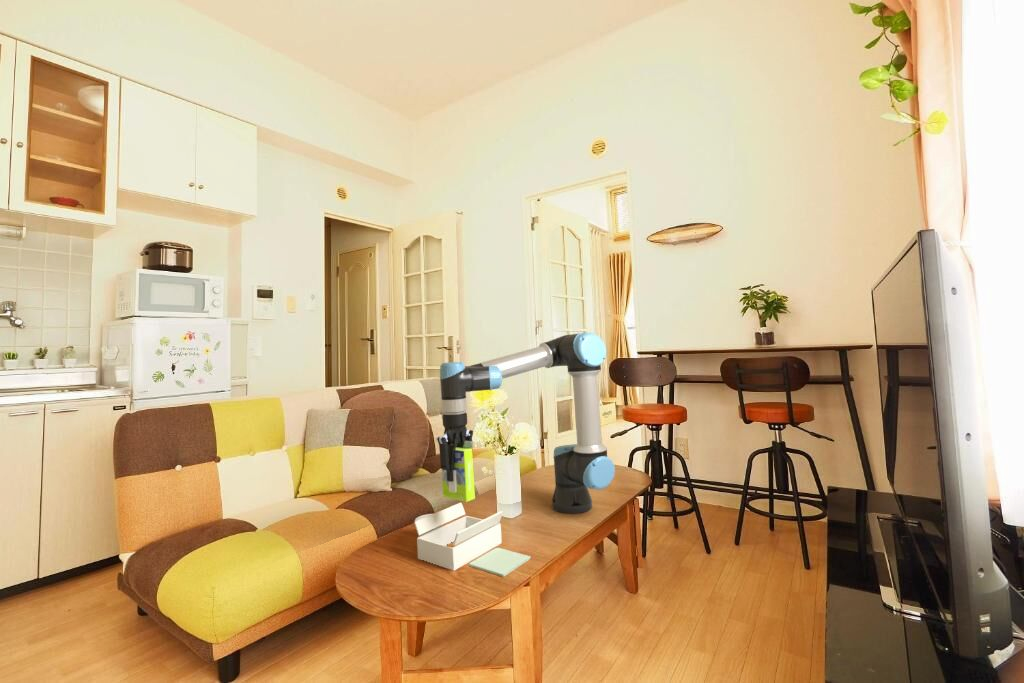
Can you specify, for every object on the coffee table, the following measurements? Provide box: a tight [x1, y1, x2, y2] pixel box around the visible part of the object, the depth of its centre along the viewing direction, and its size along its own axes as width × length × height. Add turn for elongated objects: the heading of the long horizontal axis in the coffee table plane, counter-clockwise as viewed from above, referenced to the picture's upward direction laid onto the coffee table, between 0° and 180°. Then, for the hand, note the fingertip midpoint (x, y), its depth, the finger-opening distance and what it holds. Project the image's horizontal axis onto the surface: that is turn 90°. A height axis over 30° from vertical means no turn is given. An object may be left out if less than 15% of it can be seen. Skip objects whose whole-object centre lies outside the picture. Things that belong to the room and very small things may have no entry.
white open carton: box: [416, 515, 503, 572], centre depth 140 cm, size 21×15×6 cm
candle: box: [414, 513, 443, 537], centre depth 152 cm, size 9×9×6 cm
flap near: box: [452, 510, 504, 547], centre depth 136 cm, size 20×1×4 cm, turn 143°
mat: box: [468, 546, 532, 578], centre depth 131 cm, size 12×12×1 cm
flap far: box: [413, 502, 466, 536], centre depth 145 cm, size 20×1×4 cm, turn 143°
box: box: [441, 440, 476, 503], centre depth 141 cm, size 10×4×17 cm, turn 50°
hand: (458, 489), depth 141 cm, fingers closed on box, 4 cm apart
